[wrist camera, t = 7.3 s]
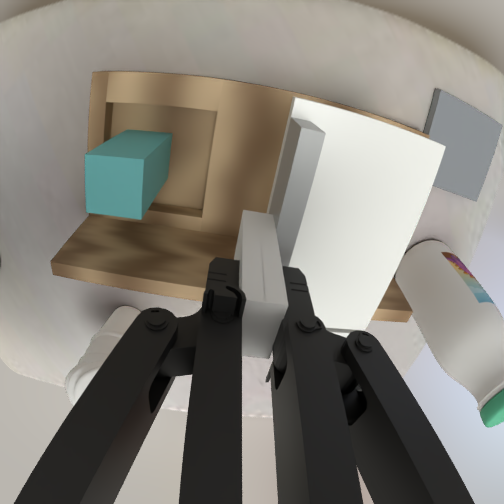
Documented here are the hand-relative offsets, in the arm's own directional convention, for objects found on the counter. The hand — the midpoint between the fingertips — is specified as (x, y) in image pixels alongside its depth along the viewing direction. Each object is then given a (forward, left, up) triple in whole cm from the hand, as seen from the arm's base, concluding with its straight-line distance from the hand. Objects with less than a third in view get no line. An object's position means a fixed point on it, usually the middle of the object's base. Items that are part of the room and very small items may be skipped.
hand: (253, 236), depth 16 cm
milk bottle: (+21, -7, -12) cm, 26 cm away
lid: (+5, -1, -9) cm, 11 cm away
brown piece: (0, 0, -12) cm, 12 cm away
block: (-9, 0, -12) cm, 15 cm away
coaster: (+19, +7, -12) cm, 24 cm away
